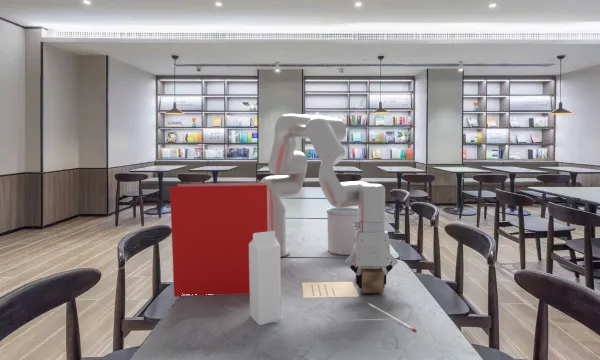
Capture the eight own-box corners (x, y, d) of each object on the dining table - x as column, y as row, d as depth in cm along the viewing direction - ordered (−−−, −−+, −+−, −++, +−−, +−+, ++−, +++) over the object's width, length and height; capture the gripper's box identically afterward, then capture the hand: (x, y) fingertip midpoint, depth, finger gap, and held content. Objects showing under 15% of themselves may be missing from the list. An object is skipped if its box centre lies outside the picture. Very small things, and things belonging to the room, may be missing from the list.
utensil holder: (327, 245, 164) (327, 205, 163) (362, 246, 162) (362, 206, 161) (325, 255, 150) (325, 211, 148) (363, 256, 148) (363, 212, 146)
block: (362, 292, 107) (362, 272, 107) (358, 285, 113) (359, 265, 113) (383, 292, 107) (383, 272, 107) (378, 284, 113) (378, 265, 113)
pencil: (414, 333, 87) (414, 330, 87) (364, 303, 103) (364, 301, 103) (416, 332, 87) (416, 329, 87) (366, 303, 104) (366, 300, 104)
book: (174, 296, 109) (169, 186, 106) (180, 286, 117) (176, 184, 114) (268, 292, 111) (266, 185, 109) (268, 282, 119) (266, 182, 116)
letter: (303, 298, 107) (303, 297, 107) (301, 283, 119) (301, 282, 119) (359, 297, 107) (359, 296, 107) (352, 282, 119) (352, 281, 119)
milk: (281, 320, 93) (281, 233, 91) (258, 326, 90) (257, 236, 88) (271, 311, 99) (270, 228, 97) (249, 316, 96) (248, 231, 94)
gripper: (343, 229, 105) (343, 292, 106) (405, 228, 105) (403, 291, 107) (340, 224, 112) (339, 282, 114) (397, 223, 113) (396, 281, 114)
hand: (370, 286), depth 110 cm, fingers closed on block, 5 cm apart
